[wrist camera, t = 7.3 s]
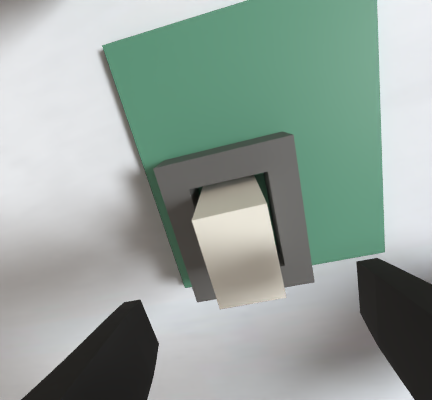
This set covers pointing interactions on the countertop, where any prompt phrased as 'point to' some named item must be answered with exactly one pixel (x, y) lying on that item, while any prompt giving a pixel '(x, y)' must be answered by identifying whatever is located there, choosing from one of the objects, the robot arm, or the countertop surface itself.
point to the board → (262, 124)
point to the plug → (238, 243)
